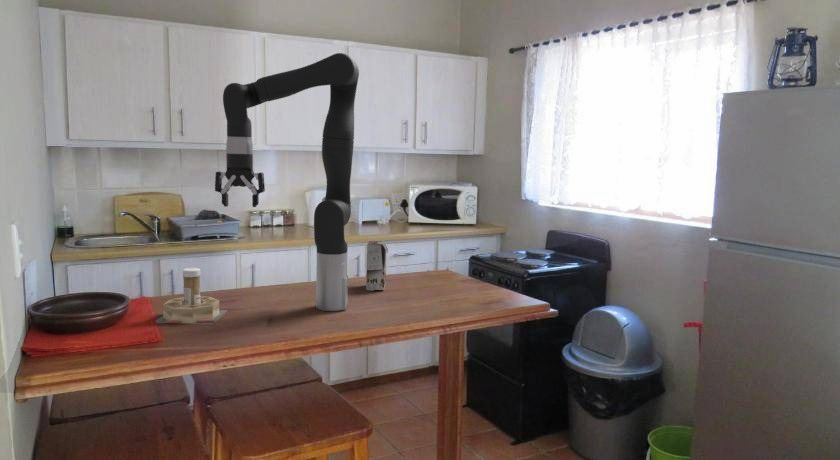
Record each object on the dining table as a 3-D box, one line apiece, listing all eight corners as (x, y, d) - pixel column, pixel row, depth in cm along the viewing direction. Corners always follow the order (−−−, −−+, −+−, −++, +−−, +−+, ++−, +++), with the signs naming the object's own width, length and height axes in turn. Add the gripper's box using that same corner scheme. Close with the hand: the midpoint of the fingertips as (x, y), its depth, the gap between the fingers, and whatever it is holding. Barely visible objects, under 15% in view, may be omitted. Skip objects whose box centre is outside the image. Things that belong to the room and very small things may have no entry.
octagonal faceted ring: (223, 310, 174) (223, 297, 174) (208, 323, 161) (207, 309, 160) (176, 309, 174) (176, 295, 174) (157, 322, 161) (156, 308, 160)
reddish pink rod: (214, 321, 163) (214, 318, 163) (214, 322, 162) (214, 319, 162) (166, 322, 161) (166, 319, 161) (165, 323, 160) (165, 320, 160)
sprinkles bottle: (203, 317, 167) (202, 269, 165) (185, 319, 164) (184, 271, 163) (199, 313, 171) (198, 266, 169) (182, 315, 168) (180, 268, 166)
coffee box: (384, 291, 207) (385, 245, 204) (365, 290, 207) (366, 244, 204) (386, 285, 216) (387, 241, 213) (368, 284, 216) (369, 240, 214)
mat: (228, 312, 175) (228, 310, 175) (212, 326, 161) (212, 324, 161) (172, 310, 174) (172, 308, 174) (152, 324, 160) (152, 322, 160)
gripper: (266, 153, 182) (266, 206, 184) (219, 151, 182) (220, 204, 184) (260, 153, 175) (260, 208, 177) (211, 151, 175) (212, 207, 177)
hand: (240, 206), depth 181 cm, fingers open, 8 cm apart
